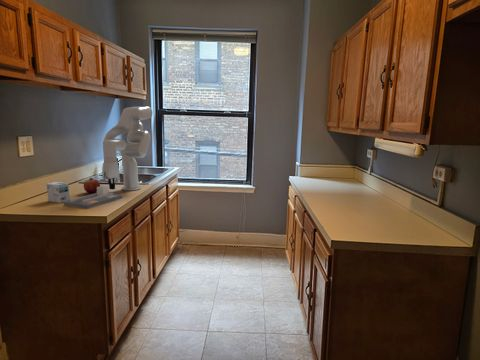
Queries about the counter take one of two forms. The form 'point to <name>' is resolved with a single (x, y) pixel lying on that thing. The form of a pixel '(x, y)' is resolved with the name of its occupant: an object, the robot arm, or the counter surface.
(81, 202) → the switch board
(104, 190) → the switch tab
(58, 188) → the light bulb box
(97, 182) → the fruit
